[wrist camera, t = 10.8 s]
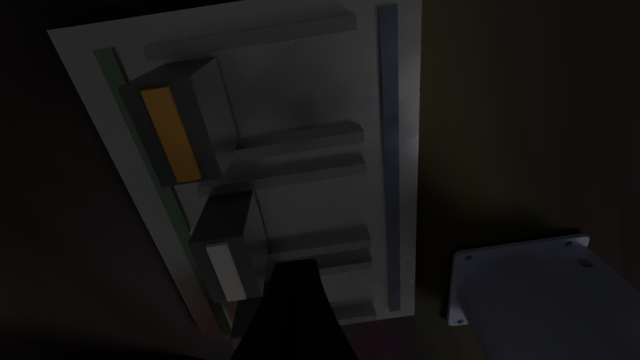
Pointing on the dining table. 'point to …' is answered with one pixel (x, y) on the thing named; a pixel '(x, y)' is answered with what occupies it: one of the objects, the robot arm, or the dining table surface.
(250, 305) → the breaker
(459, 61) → the dining table surface
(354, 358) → the robot arm
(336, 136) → the breaker panel
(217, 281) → the breaker
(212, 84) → the breaker
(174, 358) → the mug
